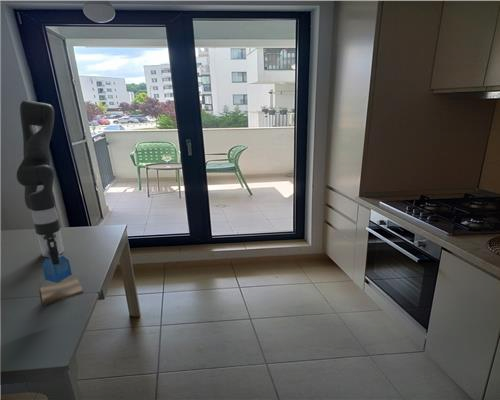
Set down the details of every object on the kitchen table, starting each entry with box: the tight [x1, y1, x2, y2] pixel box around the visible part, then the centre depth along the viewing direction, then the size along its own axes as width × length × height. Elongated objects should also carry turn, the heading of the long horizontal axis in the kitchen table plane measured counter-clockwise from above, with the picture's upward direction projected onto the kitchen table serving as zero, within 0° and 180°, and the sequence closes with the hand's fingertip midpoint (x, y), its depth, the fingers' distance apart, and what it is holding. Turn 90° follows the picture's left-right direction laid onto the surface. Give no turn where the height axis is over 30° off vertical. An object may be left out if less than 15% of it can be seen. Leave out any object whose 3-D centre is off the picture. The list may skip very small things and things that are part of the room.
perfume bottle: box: [41, 250, 73, 283], centre depth 113 cm, size 6×6×12 cm
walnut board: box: [39, 276, 84, 306], centre depth 116 cm, size 13×13×1 cm
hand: (55, 260), depth 113 cm, fingers closed on perfume bottle, 5 cm apart
